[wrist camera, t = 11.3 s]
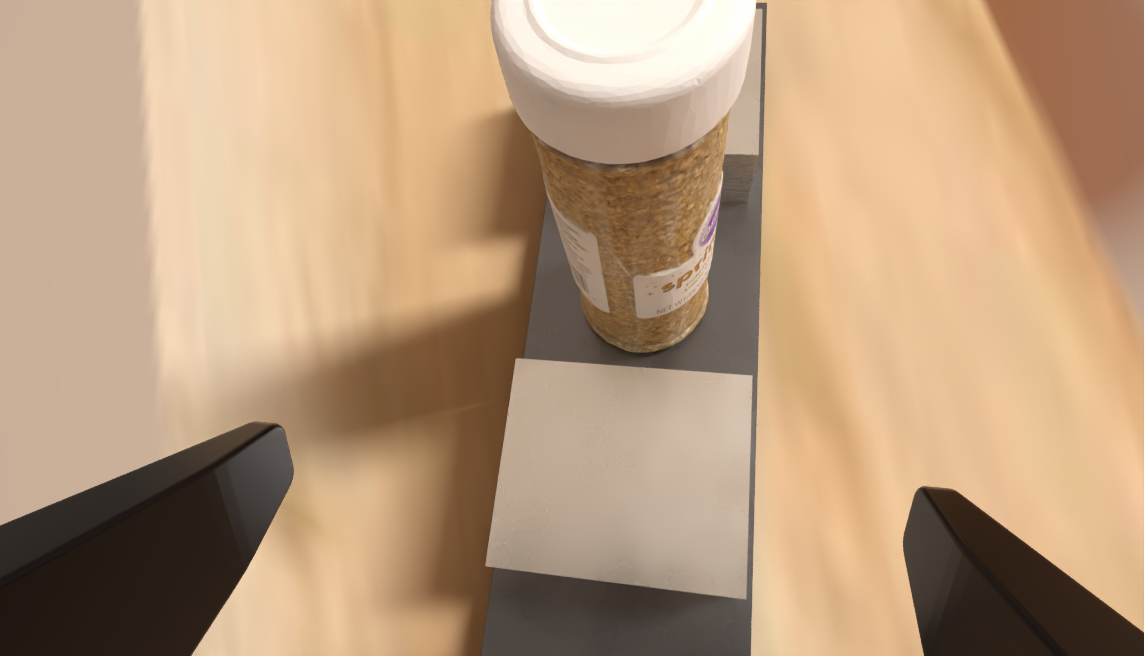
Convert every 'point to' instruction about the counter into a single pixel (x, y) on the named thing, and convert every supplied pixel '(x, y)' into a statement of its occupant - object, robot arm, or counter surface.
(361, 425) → the counter surface
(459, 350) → the counter surface
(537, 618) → the mounting plate
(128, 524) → the robot arm
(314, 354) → the counter surface
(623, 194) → the sprinkles bottle
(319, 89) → the counter surface
